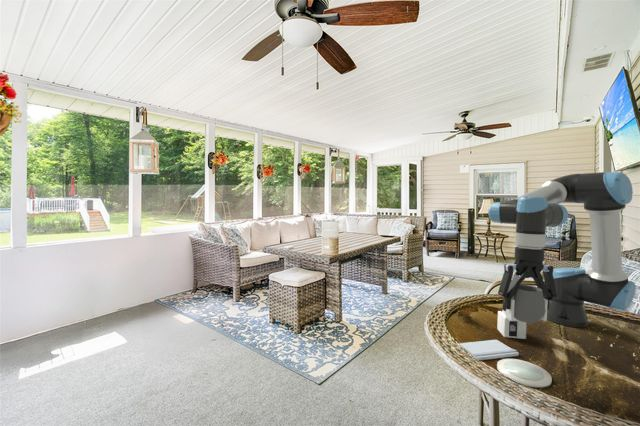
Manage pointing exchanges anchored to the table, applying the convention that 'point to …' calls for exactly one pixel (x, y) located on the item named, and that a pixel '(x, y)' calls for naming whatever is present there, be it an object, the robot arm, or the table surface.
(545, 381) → the saucer
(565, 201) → the robot arm
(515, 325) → the container
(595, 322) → the table surface
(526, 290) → the cup
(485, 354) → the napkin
